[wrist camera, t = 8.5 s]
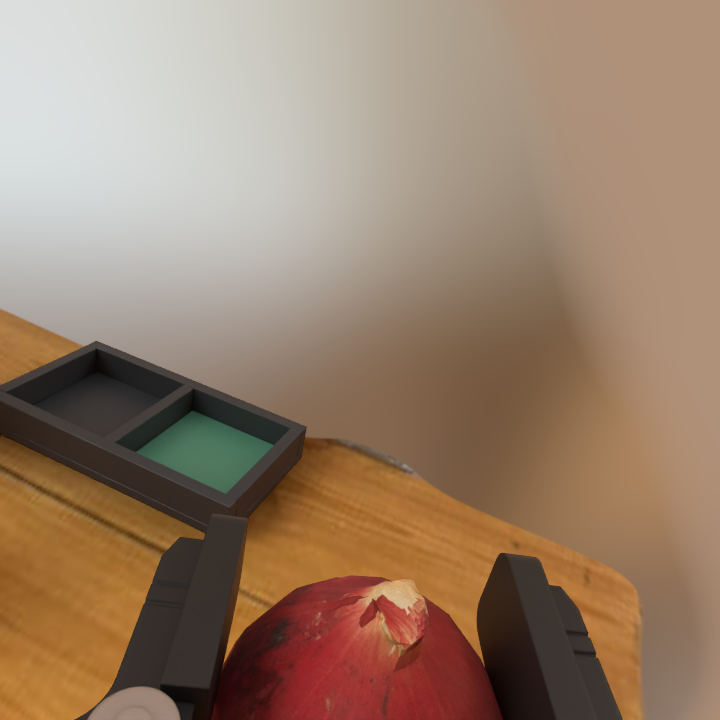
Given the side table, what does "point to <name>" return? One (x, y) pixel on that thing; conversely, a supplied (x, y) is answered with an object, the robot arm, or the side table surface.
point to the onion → (354, 659)
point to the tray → (151, 433)
